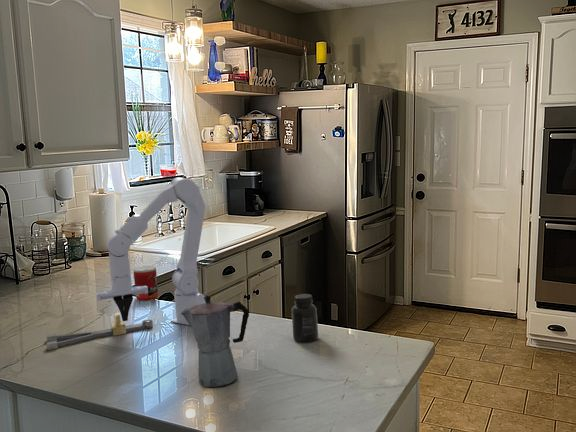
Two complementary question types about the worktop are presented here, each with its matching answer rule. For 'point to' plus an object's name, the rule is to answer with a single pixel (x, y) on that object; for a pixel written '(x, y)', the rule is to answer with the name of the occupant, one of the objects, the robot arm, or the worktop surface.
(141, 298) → the canned food
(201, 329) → the moka pot
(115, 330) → the collar
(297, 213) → the worktop surface
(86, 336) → the grey long bar part
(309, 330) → the supplement bottle
